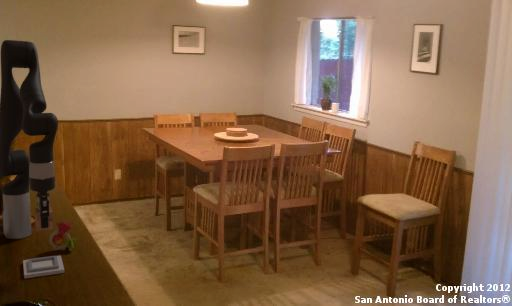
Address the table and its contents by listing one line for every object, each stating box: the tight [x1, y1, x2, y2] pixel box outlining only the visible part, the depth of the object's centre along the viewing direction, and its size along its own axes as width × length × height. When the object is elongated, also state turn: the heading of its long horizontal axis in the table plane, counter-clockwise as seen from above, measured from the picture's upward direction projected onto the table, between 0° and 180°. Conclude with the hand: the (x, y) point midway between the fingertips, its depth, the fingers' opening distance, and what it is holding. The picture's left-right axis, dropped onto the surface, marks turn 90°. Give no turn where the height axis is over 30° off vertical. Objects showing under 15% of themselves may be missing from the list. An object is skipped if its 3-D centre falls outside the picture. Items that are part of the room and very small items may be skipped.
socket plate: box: [22, 255, 65, 279], centre depth 170 cm, size 12×12×2 cm
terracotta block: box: [34, 206, 54, 232], centre depth 167 cm, size 5×5×6 cm
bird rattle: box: [48, 221, 78, 252], centre depth 184 cm, size 6×11×9 cm
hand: (44, 224), depth 167 cm, fingers closed on terracotta block, 5 cm apart
